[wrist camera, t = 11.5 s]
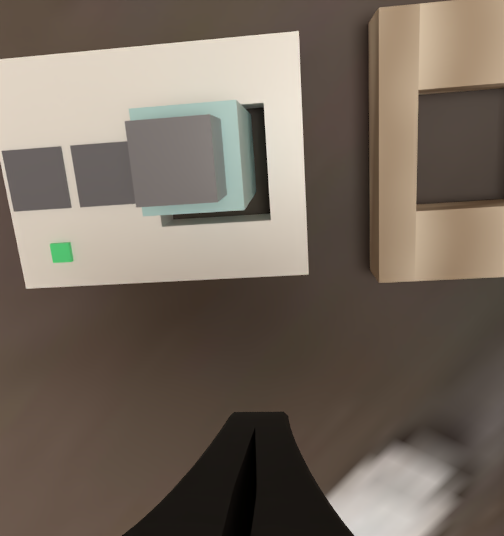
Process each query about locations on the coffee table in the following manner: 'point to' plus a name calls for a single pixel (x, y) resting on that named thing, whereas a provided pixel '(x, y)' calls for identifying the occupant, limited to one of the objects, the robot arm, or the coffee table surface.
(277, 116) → the port housing
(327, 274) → the coffee table surface
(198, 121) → the plug
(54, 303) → the coffee table surface
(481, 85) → the holster
